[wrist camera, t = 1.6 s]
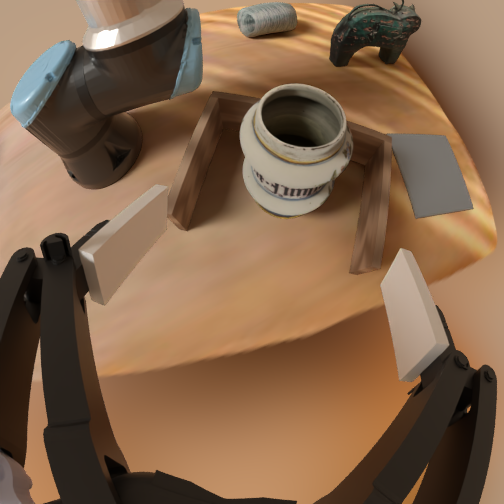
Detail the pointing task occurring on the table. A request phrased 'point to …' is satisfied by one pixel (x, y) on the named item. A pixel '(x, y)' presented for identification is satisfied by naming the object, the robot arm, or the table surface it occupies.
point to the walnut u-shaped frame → (364, 152)
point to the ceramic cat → (373, 32)
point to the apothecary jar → (294, 149)
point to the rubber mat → (430, 174)
